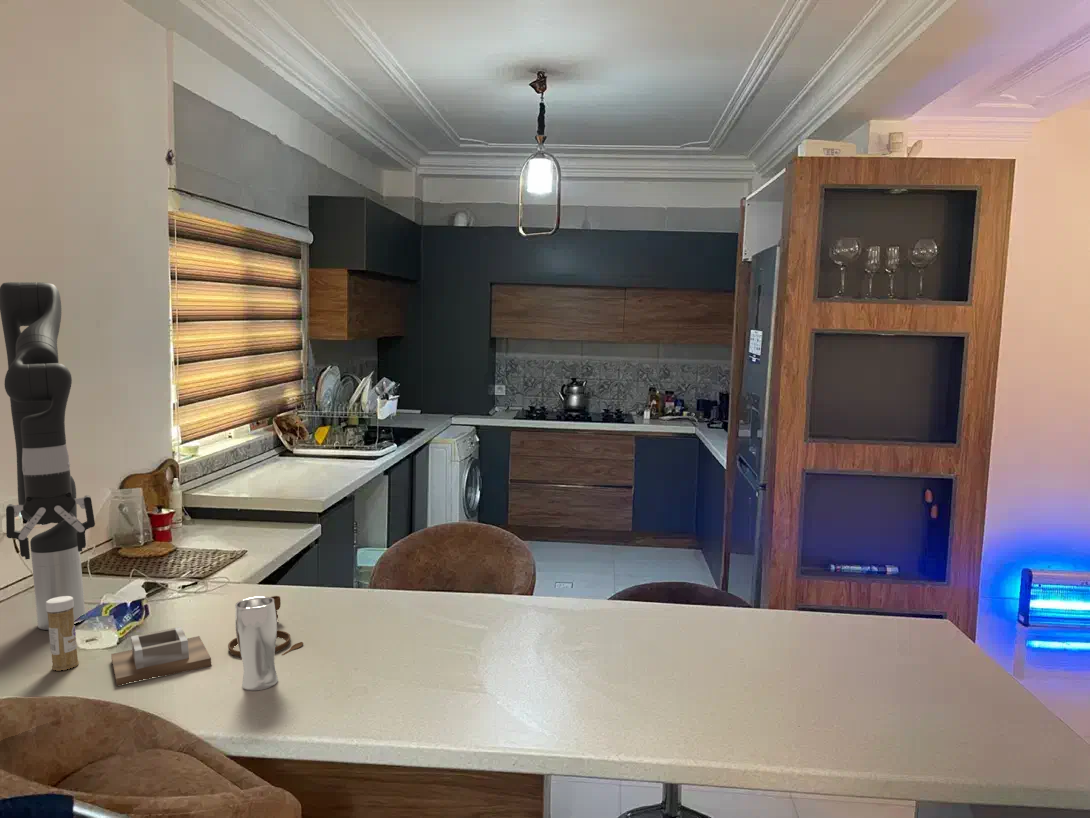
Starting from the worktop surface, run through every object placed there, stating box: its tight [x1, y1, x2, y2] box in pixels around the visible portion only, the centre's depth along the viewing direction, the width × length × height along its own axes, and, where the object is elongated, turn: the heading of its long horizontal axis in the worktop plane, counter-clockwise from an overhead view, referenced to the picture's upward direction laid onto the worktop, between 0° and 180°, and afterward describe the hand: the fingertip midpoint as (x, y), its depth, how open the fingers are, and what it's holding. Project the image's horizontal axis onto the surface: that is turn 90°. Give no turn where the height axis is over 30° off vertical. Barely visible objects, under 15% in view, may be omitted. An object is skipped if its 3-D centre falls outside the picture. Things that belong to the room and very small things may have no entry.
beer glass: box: [234, 596, 279, 692], centre depth 145 cm, size 7×7×15 cm
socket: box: [110, 626, 212, 687], centre depth 157 cm, size 14×16×5 cm
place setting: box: [227, 595, 304, 658], centre depth 168 cm, size 18×20×6 cm
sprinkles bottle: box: [46, 596, 80, 672], centre depth 156 cm, size 5×5×14 cm
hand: (54, 554), depth 154 cm, fingers open, 8 cm apart
